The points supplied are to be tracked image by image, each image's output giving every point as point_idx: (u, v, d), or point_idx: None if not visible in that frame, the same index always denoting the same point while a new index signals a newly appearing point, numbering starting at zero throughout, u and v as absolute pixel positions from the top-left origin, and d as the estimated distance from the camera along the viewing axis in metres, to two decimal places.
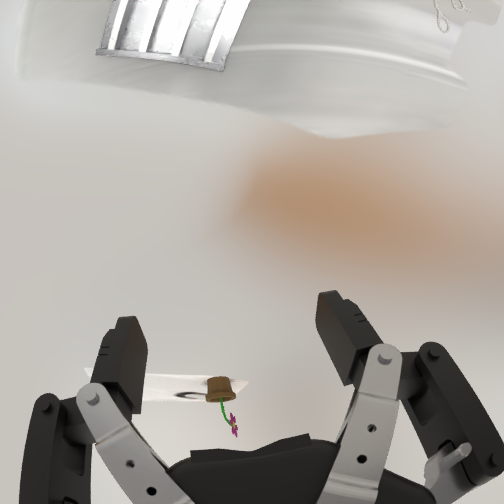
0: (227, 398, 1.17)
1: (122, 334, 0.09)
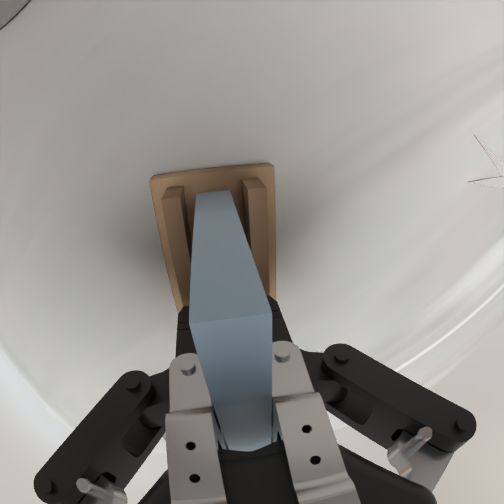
0: None
1: None
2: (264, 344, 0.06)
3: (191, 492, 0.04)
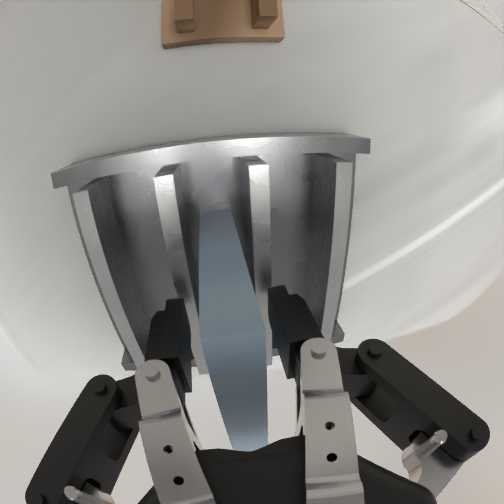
0: None
1: (174, 314, 0.10)
2: (259, 353, 0.07)
3: (178, 495, 0.04)
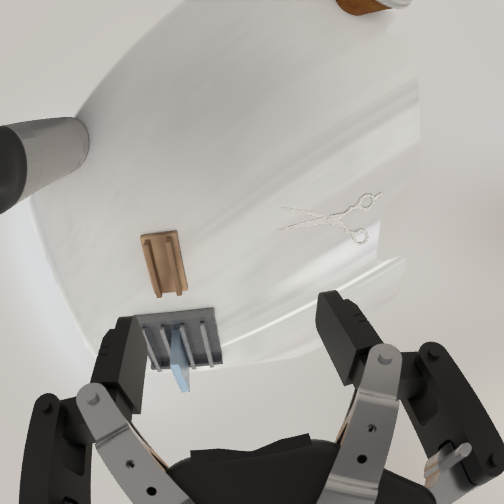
0: None
1: (122, 334, 0.09)
2: (178, 367, 0.44)
3: None
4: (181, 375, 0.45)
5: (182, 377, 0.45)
